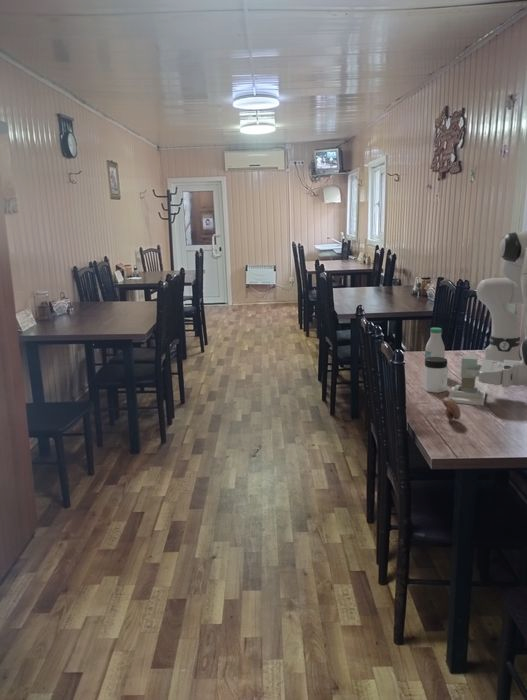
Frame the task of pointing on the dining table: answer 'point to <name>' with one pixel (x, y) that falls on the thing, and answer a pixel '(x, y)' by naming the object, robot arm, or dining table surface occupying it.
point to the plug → (467, 363)
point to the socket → (468, 395)
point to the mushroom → (451, 408)
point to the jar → (435, 374)
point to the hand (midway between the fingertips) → (466, 369)
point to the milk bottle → (435, 344)
